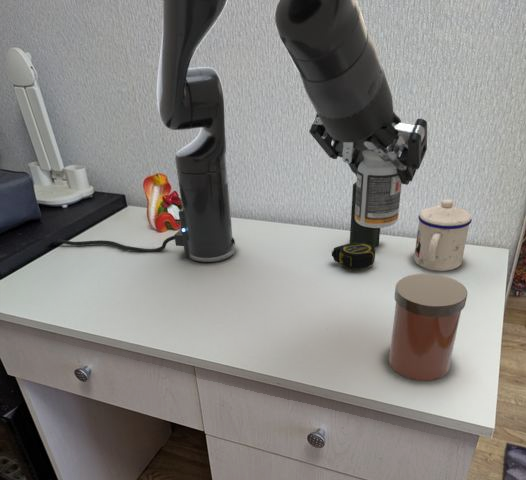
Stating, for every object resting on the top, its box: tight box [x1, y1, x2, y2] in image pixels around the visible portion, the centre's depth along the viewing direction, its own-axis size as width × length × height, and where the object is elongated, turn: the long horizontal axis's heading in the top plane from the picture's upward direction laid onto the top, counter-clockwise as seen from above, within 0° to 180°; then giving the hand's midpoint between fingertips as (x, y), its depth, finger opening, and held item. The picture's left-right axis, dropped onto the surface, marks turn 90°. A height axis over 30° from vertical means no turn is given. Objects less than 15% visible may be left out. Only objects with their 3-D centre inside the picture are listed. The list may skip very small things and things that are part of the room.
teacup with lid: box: [413, 198, 473, 272], centre depth 89 cm, size 12×9×12 cm
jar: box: [388, 273, 468, 382], centre depth 65 cm, size 9×9×12 cm
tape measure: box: [331, 242, 376, 270], centre depth 93 cm, size 7×7×4 cm
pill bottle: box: [355, 147, 402, 229], centre depth 63 cm, size 6×6×10 cm
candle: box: [349, 181, 381, 249], centre depth 93 cm, size 5×5×25 cm
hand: (385, 174), depth 64 cm, fingers closed on pill bottle, 5 cm apart
